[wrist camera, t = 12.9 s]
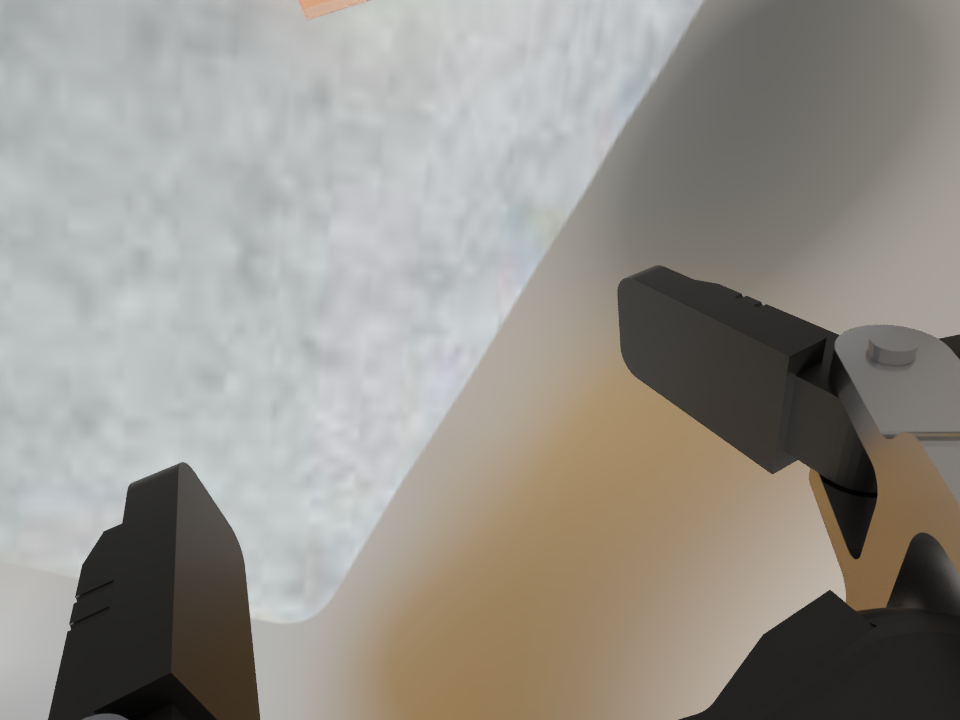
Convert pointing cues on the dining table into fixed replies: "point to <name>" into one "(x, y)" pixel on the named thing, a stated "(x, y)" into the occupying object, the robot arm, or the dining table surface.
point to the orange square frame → (324, 6)
